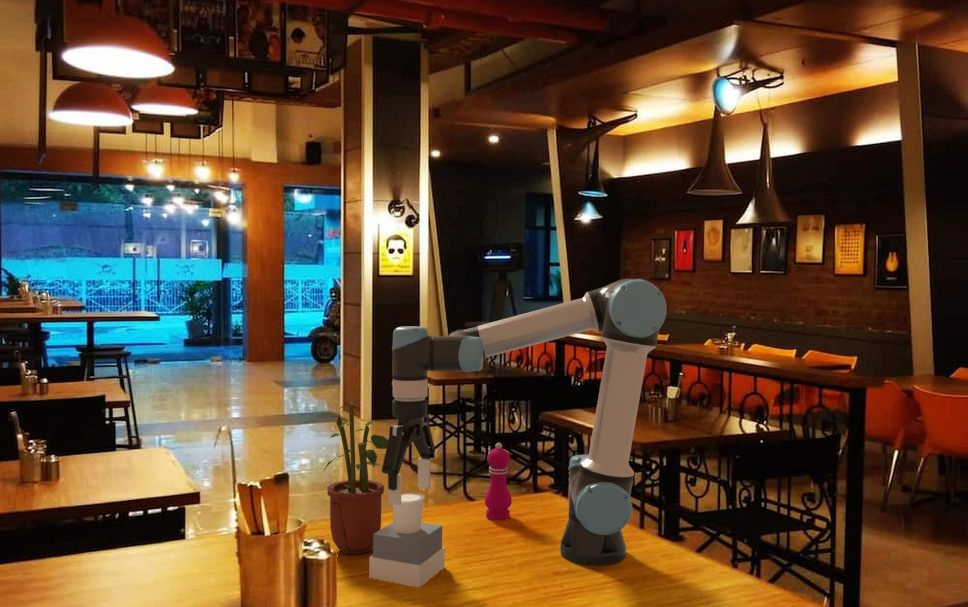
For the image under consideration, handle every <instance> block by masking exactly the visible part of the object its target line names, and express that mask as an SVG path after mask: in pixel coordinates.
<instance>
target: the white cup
mask: <svg viewBox="0 0 968 607" xmlns="http://www.w3.org/2000/svg"><path fill="white" fill-rule="evenodd" d="M391 506H392V514H393V522H394V527H395V531H396V532H398V533H403V534H410V533H415V532H418V531H420V530H421V522H422V520H423V509H424V508H423V506H424V496H423V495H422V494H419V493H414V492H412V493H410V492H409V493H407V492H406V493H405V492H404V493H401V505H400V506H399V505H392V504H391Z"/></svg>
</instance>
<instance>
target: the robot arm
mask: <svg viewBox="0 0 968 607" xmlns="http://www.w3.org/2000/svg"><path fill="white" fill-rule="evenodd" d="M664 296H665V295H664V294H663V292H662V291H661V290H660V289H659V288H658V287H657V286H656V284H653V283H652V282H650V281H648V280H645V279H643V278H632V277H631V278H622V279H619V280H617V281H615V282H612V283H609V284H607V285H605V286H602V287H600V288H597V289H593V290H591V291H590V290H589V291H586V293H585V294H584V296H583V297H582V298H577V299H572V300H569V301H567V302H563V303H558V304H555V305H550V306H548V307H543V308H540V309H536V310H533V311H529V312H526V313H521V314H517V315H515V316H511V317H507V318H501V319H499V320H496V321H492V322H488V323H484V324H481V325H477V326H475V327H474V326H473V327H471V328H466V329H457V330H455V331H452V332H451V333H450V334H448V335H447V336H444V335H443V336H434V335H429V333H428V328H427V327H426V326H418V325H417V326H415V325H414V326H413V325H411V326H409V325H408V326H405V325H404V326H399V327H396V328H394V330H393V333H392V347H391V351H392V352H391V355H392V356H391V358H392V362H391V363H392V365H391V366H392V382H391V386H392V397H393V400H392V401H391V402H392V408H391V409H392V416H393V417H394V418H396V420H398V421H397V425H393V424H391V425H390V426H389V431H388V432H389V435H388V436H389V437H388V444H387V449H386V450H385V453H384V458H383V463H382V466H381V473H383V474H386V475H387V505H391V506H392V505H399V506H400V505H401V494H402V473H400V470H401V468H402V465H403V462H404V458H405V456H406V454H407V450H408V448H409V447H410V446H411V444H412V443H413V445H414V446H415V449H416V451H417V453H418V455H419V458H418V457H417V488H421V489H431V459H435V458H436V457H435V456H436V447H435V443H434V439H433V435H432V430H431V427H430V417H429V415H428V400H427V399H426V398H427V397H428V395H429V394H428V389H429V388H428V372H460V373H461V372H464V373H469V372H480V371H481V370H482V369H483V366H484V359H485V358H490V357H492V356H497V355H500V354H504V353H508V352H513V351H516V350H520V349H524V348H527V347H528V348H529V347H530V346H531V347H532V346H535V345H538V344H543V343H547V342H550V341H554V340H557V339H562V338H565V337H569V336H574V335H576V334H580V333H584V332H588V331H593V332H595V333H597V334H598V333H601V340H602V341H603V342H604V343H605V345H606V351H605V357H604V363H603V368H602V373H601V374H602V375H601V378H600V379H601V380H600V384H599V392H598V399H597V404H596V409H595V414H594V420H593V428H592V433H591V439H590V445H589V451H588V454H575V455H573V456H572V457H571V458H570V459H569V466H568V467H567V468H568V469H567V470H568V471H569V472H568V473H569V477H568V518H567V520H568V521H567V522H566V526H565V528H564V532H563V534H562V537H561V540H560V551H559V552H560V554H561V556H562V557H563V558H565V559H566V560H568V561H571V562H574V563H576V564H580V565H587V566H588V565H589V566H608V565H615V564H618V563H621V562H622V561H624V560H625V559H626V557H627V544H626V542H625V541H626V540H625V538H624V535H623V533H622V529H623V528H625V527H626V526H627V524H628V523H629V522H630V520H631V517H632V513H633V501H632V498H631V494H632V487H633V482H634V475H635V471H634V470H633V468H632V467H631V466H630V463H629V461H630V457H631V450H632V444H633V438H634V434H635V427H636V422H637V417H638V411H639V405H640V398H641V393H642V386H643V382H644V375H645V370H646V364H647V359H648V358H647V357H648V354H649V353H650V352H652V351H653V350H654V349H655V348H657V344H658V338H659V331H660V329H661V327H662V326H663V324H664V322H665V320H666V317H667V311H668V310H667V309H668V308H667V302H666V299H665V298H666V297H664Z"/></svg>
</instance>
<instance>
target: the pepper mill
mask: <svg viewBox="0 0 968 607" xmlns="http://www.w3.org/2000/svg"><path fill="white" fill-rule="evenodd" d="M494 447H495V448H493V449H491V450H490V451H488V454H487V457H486V458H487V463H488V464H489V467H488V469H489V470H488V472H489V473H490V482H489V486H488V489H487V491H486V493H485V496H484V505H485V507H486V508H487V510H486V511H485V513H486V514H485V517H486V519H487V518H488V519H487V520H489V519H491V520H490V521H493V520H504V521H507V520H509V519H510V518H511V517H510V516H511V515H510V513H511V511H510V510H509V508H510V507H511V505H512V503H513V500H512V496H511V493H510V490H509V487H508V485H507V473H509V470H508V469H509V467H508V465H509V463H510V461H511V458H510V454H509V451H508V450H506V449H504V448H502V447H503V444H502V443H501V442H497V443H496V444H495V446H494ZM506 519H507V520H506Z"/></svg>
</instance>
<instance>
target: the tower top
mask: <svg viewBox="0 0 968 607" xmlns="http://www.w3.org/2000/svg"><path fill="white" fill-rule="evenodd" d="M442 547H443V525H442V524H435V523H427V522H422V521H421V530H420V531H418V532H415V533H410V534H403V533H398V532H396V531H395V527H394V521H392V522H391V523H389V524H387V525H385V526H384V527H382V528H380V530H379V531H378V532H376V533H374V534H373V547H372V548H373V549H372V551H373V552H372V553H373V554H372V555H373V557H375V558H381V559H387V560H393V561H399V562H405V563H411V564H417V565H420V564H421V563H423V562H424V561H425V560H427V559H428V558H429V557H431V556H432V555H433V554H435V553H436V552H437V551H439V550H440V549H441V548H442Z"/></svg>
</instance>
